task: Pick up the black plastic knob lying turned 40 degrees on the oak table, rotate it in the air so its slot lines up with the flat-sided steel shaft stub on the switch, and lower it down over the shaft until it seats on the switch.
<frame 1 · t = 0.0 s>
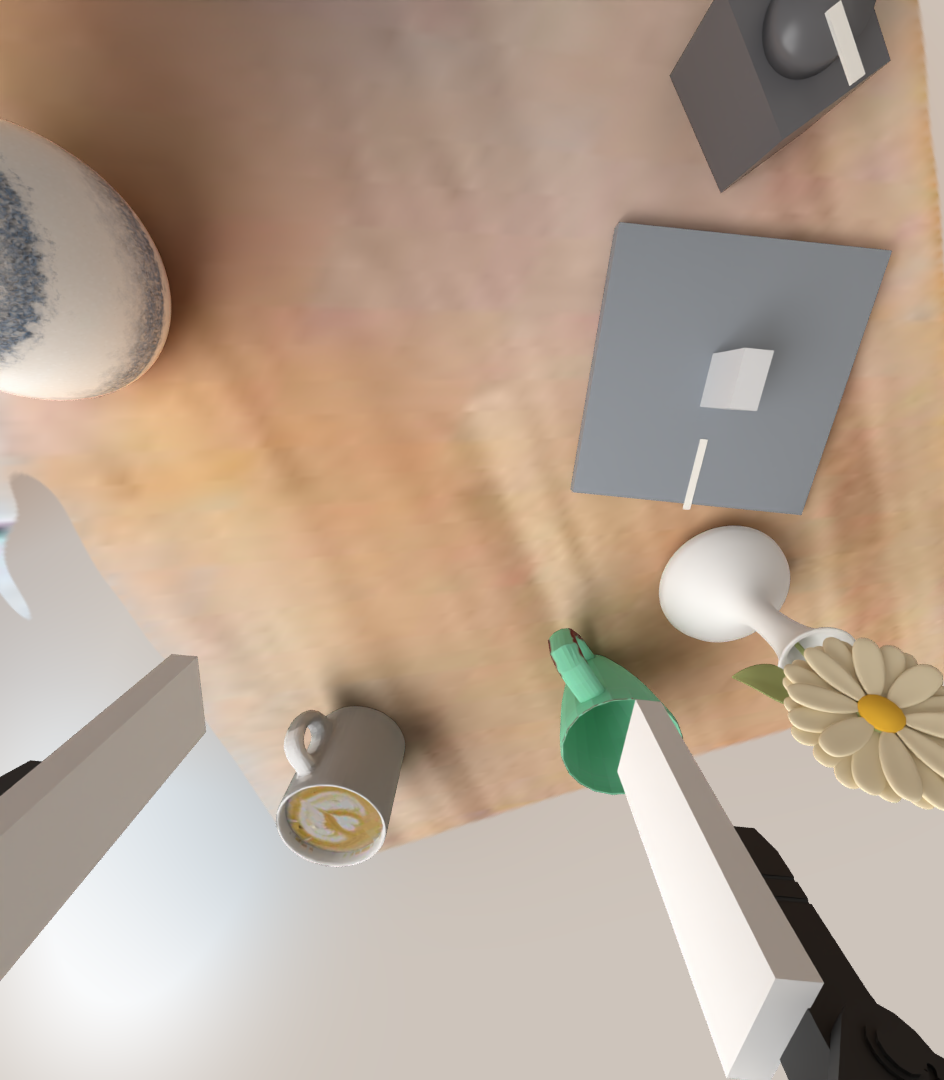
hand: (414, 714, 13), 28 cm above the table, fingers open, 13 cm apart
knob: (737, 104, 31), on the table
mug: (581, 656, 45), on the table
lamp: (102, 293, 35), on the table
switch: (711, 382, 36), on the table
coffee mug: (354, 729, 48), on the table
flower in vase: (704, 575, 42), on the table
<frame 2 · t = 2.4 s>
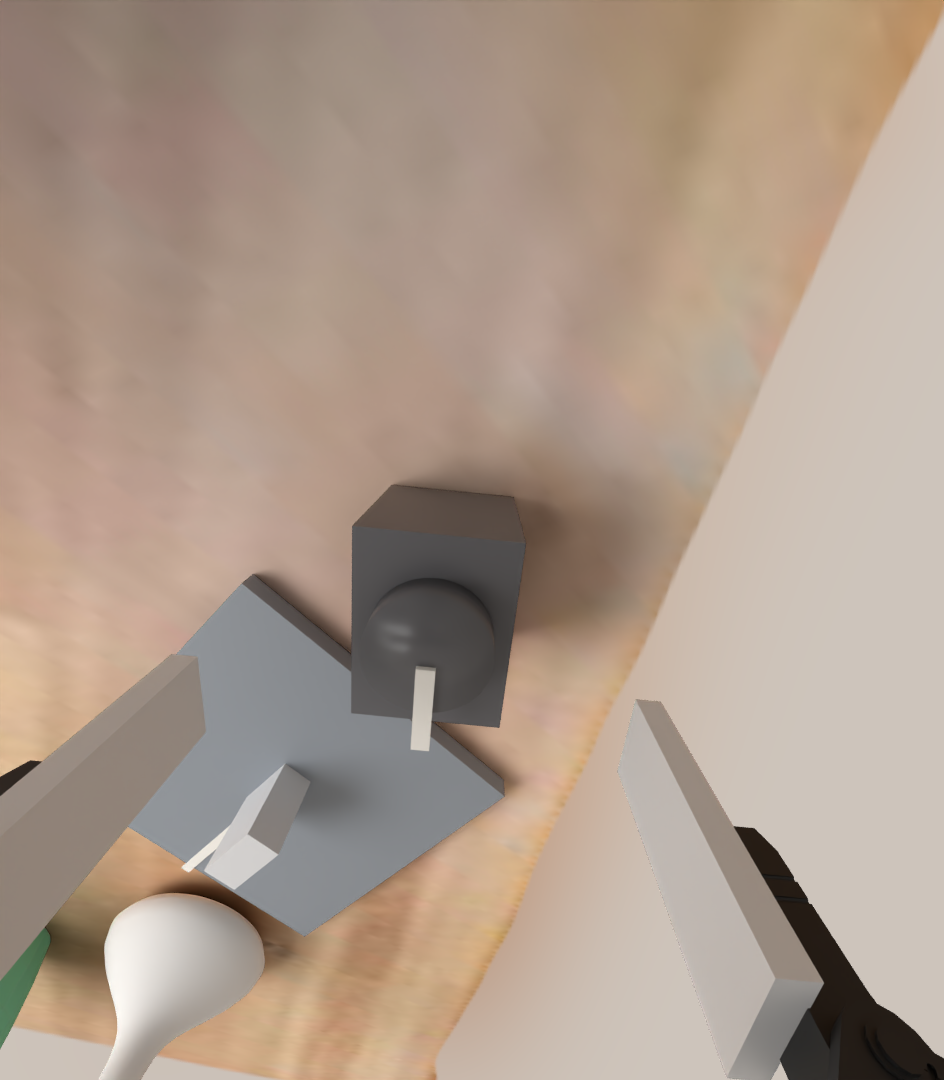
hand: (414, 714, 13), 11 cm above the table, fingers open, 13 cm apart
knob: (446, 565, 24), on the table
mug: (15, 909, 34), on the table
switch: (286, 773, 29), on the table
flower in vase: (194, 916, 34), on the table
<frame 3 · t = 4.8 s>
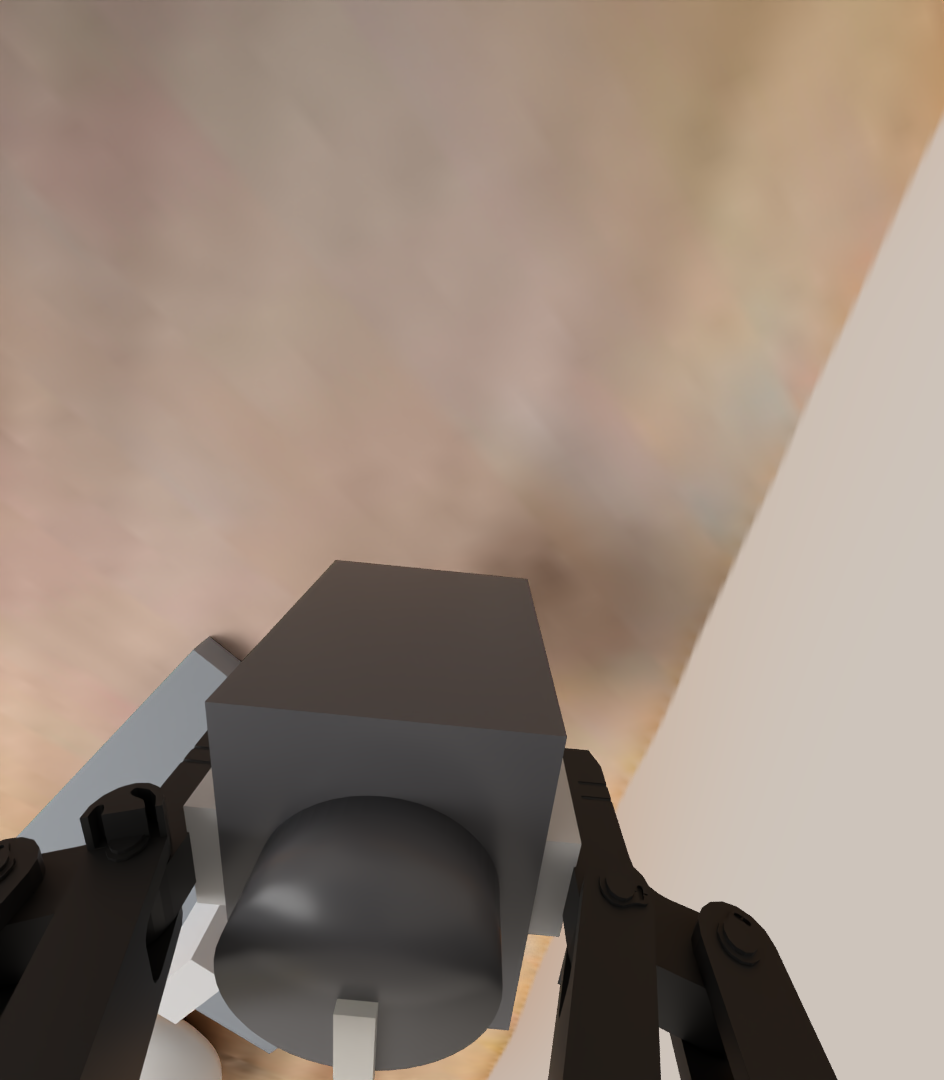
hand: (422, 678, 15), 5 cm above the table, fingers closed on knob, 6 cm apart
knob: (423, 678, 15), point 5 cm above the table, touching gripper
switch: (249, 863, 25), on the table
flower in vase: (142, 1025, 29), on the table
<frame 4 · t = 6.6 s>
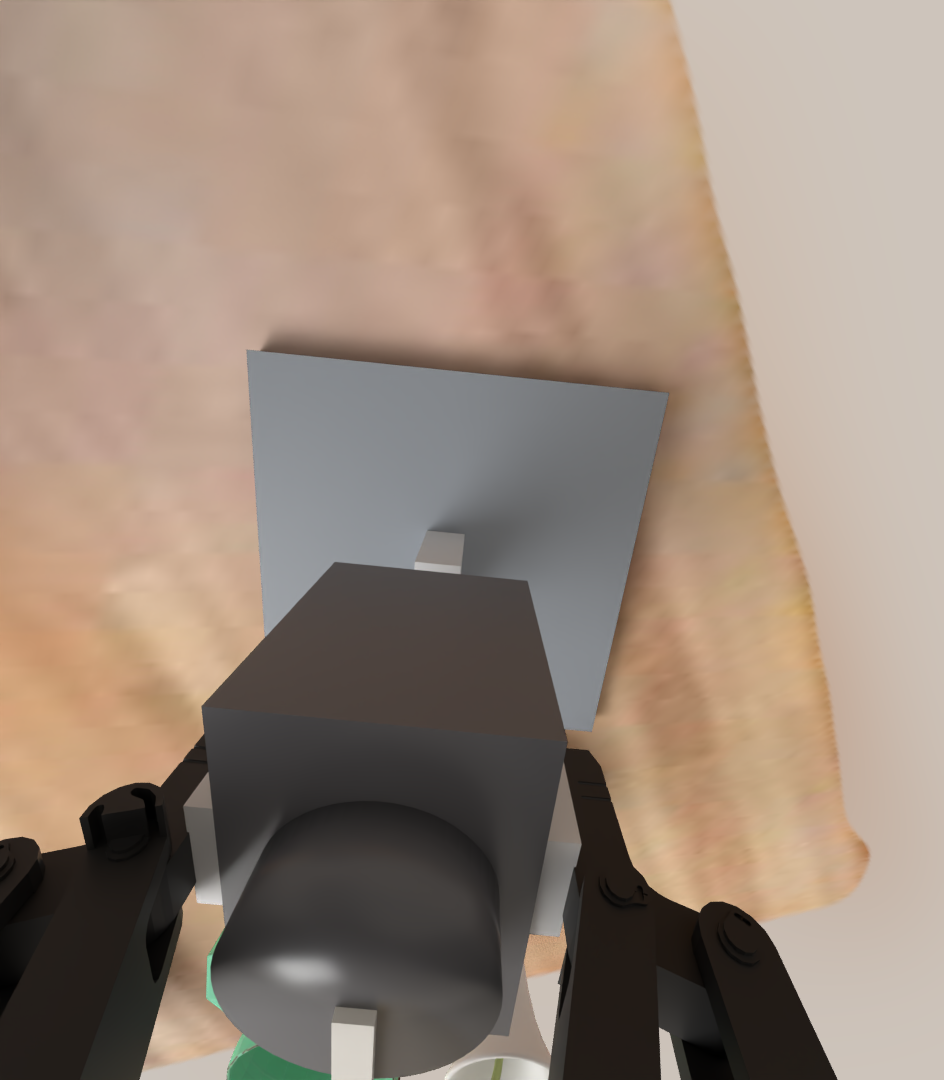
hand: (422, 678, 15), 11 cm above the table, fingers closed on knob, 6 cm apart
knob: (423, 680, 15), point 10 cm above the table, touching gripper
mug: (340, 875, 34), on the table
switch: (444, 559, 25), on the table
flower in vase: (483, 789, 31), on the table
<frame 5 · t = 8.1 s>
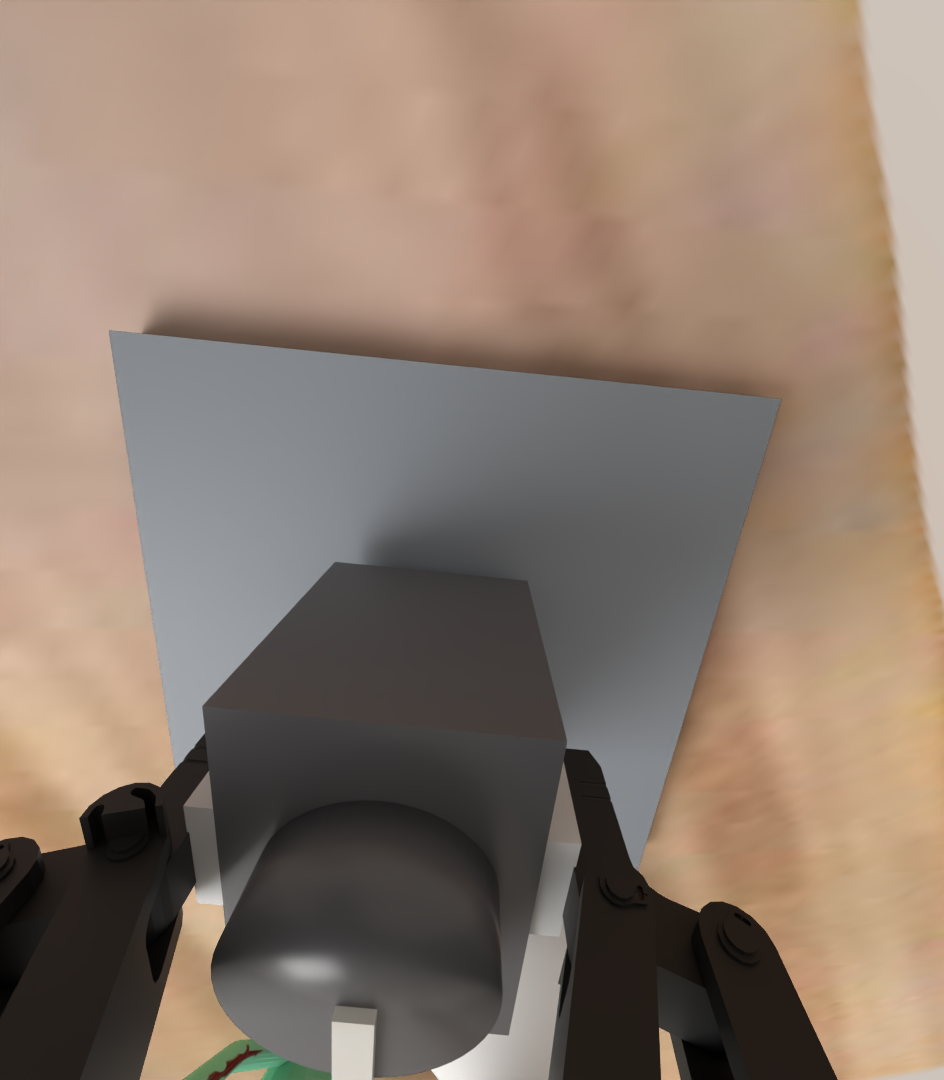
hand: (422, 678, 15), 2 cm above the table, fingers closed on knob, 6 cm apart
knob: (423, 680, 15), point 2 cm above the table, touching gripper
mug: (299, 1024, 26), on the table
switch: (429, 638, 17), on the table
flower in vase: (485, 927, 23), on the table
when the fingers open (2 cm above the table, at t = 8.7 s): knob stays where it is, resting on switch.
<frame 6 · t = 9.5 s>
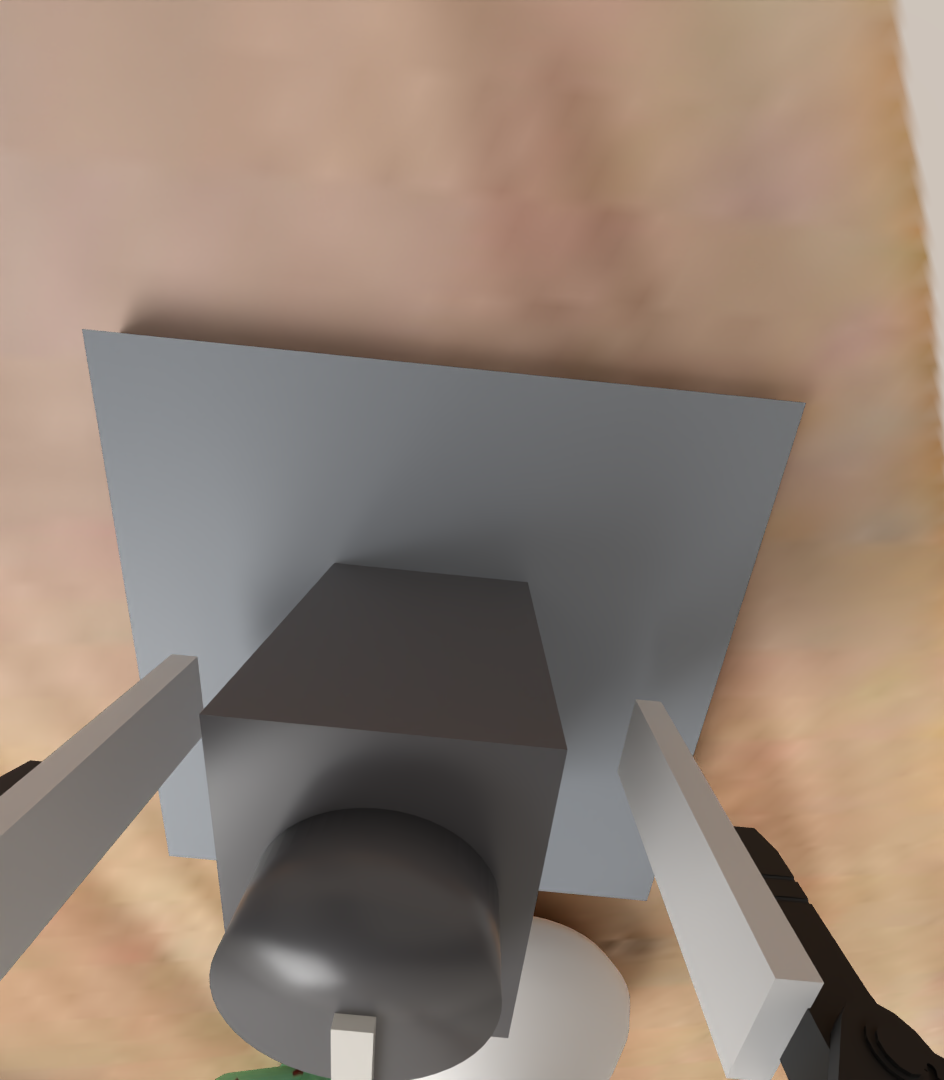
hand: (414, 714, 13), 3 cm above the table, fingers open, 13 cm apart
knob: (423, 681, 15), point 1 cm above the table, touching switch
mug: (292, 1053, 25), on the table
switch: (427, 655, 16), on the table
flower in vase: (486, 955, 22), on the table
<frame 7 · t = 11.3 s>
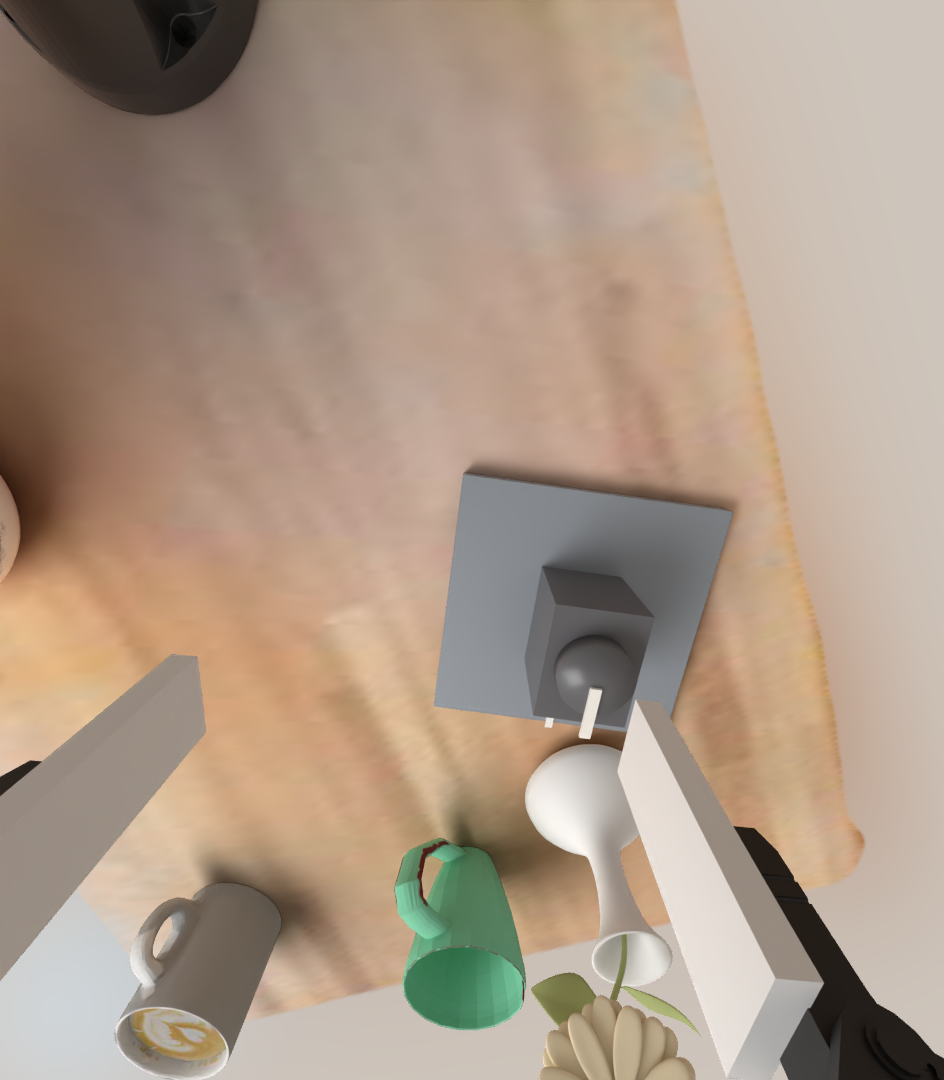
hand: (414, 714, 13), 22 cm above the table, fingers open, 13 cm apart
knob: (571, 619, 35), point 1 cm above the table, touching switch
mug: (456, 846, 44), on the table
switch: (569, 610, 36), on the table
coffee mug: (229, 903, 47), on the table
flower in vase: (575, 779, 41), on the table
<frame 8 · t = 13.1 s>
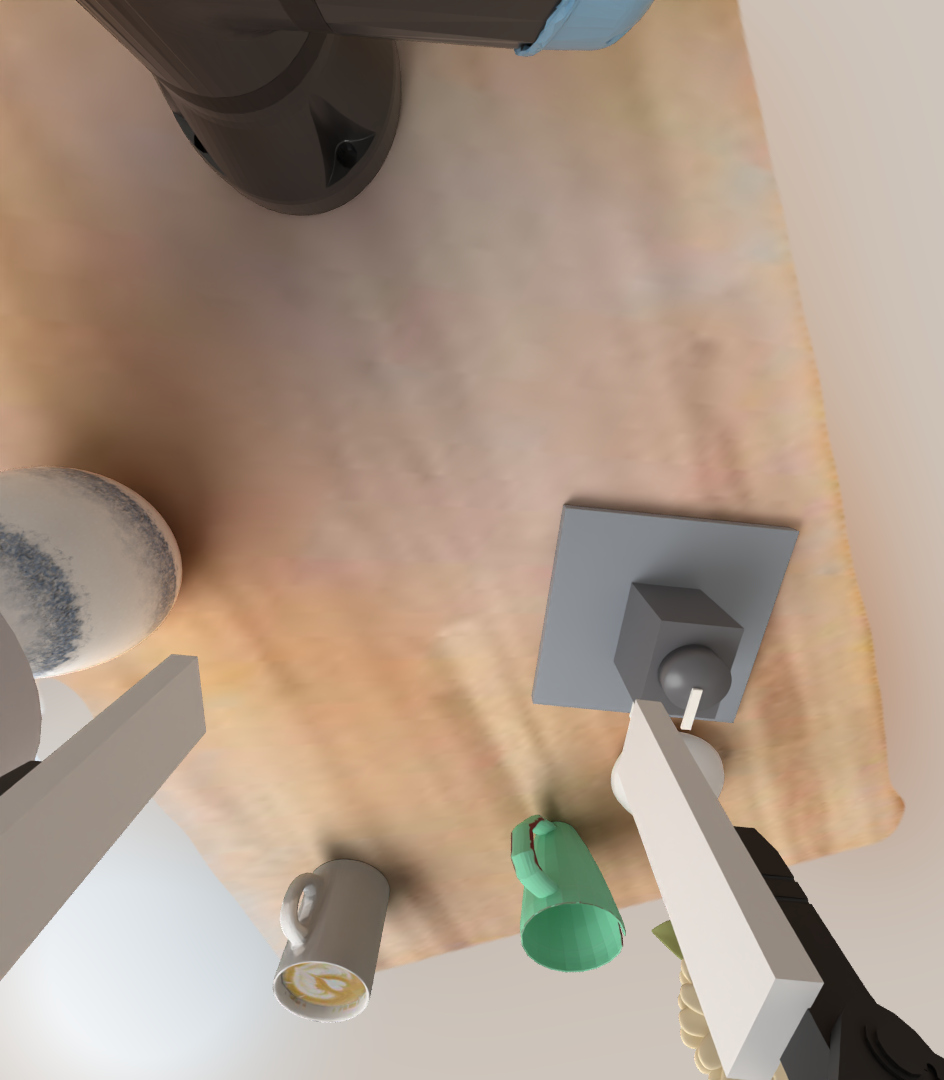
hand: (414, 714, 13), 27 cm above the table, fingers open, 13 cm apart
knob: (655, 626, 41), point 1 cm above the table, touching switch
mug: (545, 822, 50), on the table
lamp: (121, 544, 41), on the table
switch: (651, 617, 42), on the table
coffee mug: (344, 877, 54), on the table
flower in vase: (652, 761, 47), on the table
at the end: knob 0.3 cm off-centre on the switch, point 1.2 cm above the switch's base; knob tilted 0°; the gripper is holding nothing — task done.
